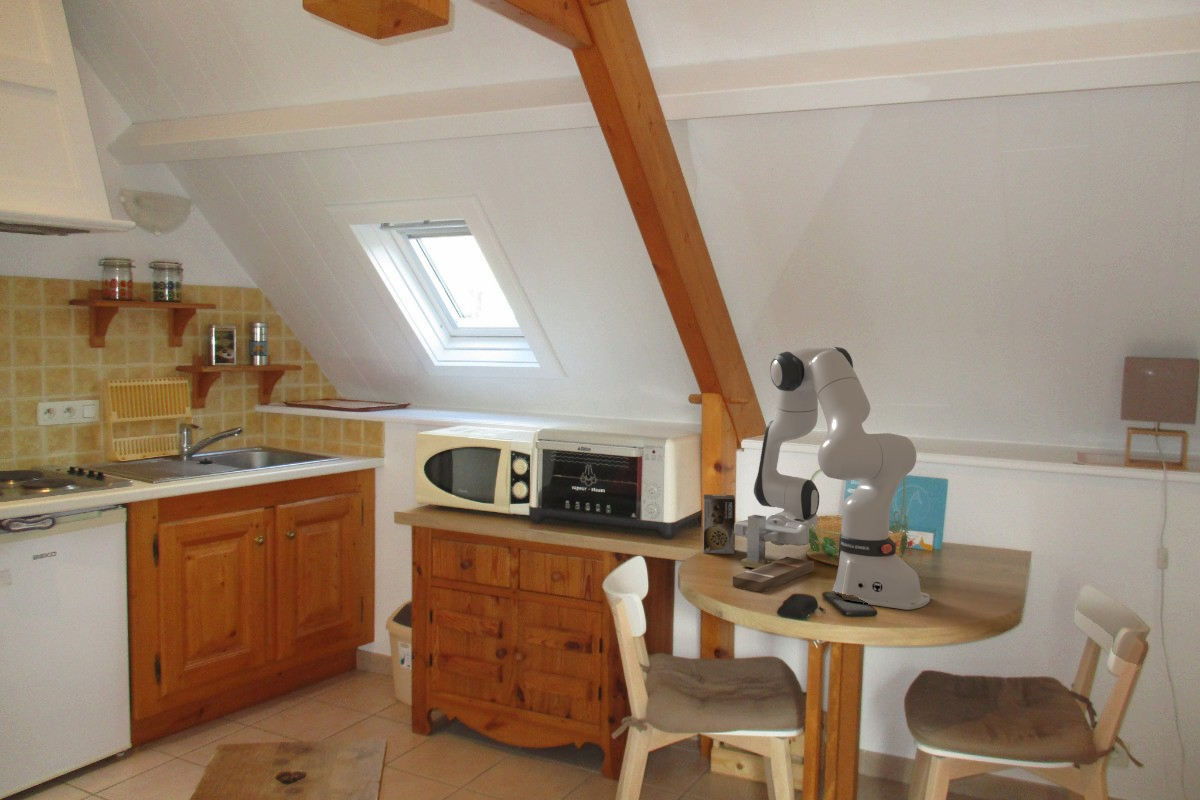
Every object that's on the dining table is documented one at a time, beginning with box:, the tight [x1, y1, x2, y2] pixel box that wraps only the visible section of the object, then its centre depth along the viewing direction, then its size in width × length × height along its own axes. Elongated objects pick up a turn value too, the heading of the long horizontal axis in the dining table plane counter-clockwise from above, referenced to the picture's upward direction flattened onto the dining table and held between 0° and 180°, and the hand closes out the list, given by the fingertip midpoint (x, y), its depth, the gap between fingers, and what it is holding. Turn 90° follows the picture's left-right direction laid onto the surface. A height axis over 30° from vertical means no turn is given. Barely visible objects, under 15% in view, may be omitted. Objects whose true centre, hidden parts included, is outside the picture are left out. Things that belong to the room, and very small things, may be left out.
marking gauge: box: [740, 514, 772, 569], centre depth 250 cm, size 7×4×14 cm, turn 51°
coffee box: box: [702, 494, 736, 555], centre depth 269 cm, size 9×6×16 cm
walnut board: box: [732, 556, 815, 593], centre depth 240 cm, size 8×28×3 cm, turn 141°
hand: (755, 536), depth 249 cm, fingers closed on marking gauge, 3 cm apart
